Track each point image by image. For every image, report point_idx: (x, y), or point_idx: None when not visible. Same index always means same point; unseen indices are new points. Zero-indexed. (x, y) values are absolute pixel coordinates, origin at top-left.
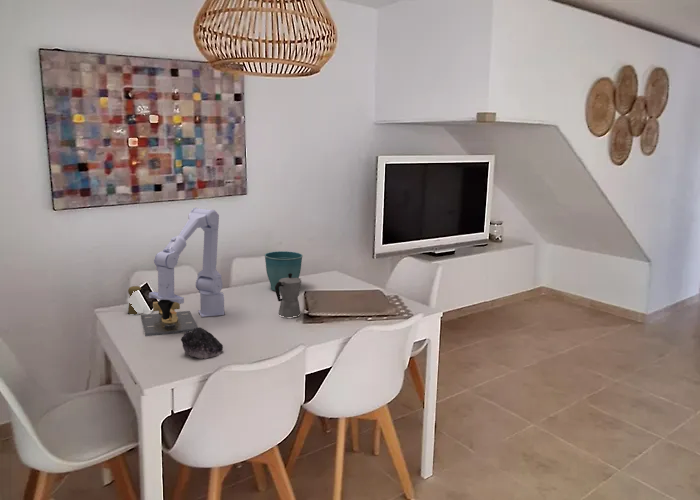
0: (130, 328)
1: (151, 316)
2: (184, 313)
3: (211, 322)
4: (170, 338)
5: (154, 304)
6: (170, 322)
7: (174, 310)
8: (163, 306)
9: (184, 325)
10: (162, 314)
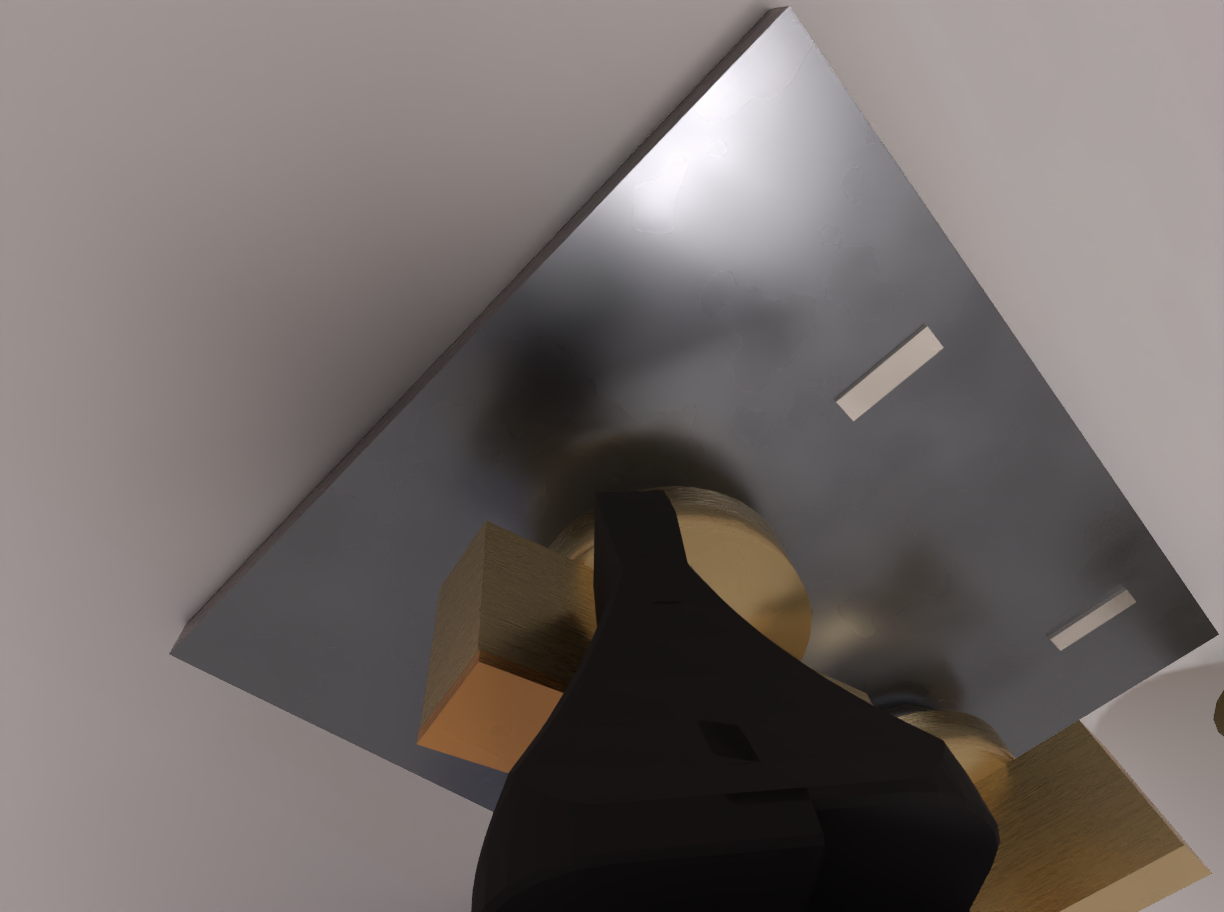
0: (1199, 231)
1: (1066, 660)
2: None
3: (312, 856)
4: (255, 147)
5: (1148, 831)
6: (577, 546)
7: None
8: (639, 713)
9: None
10: (925, 726)
